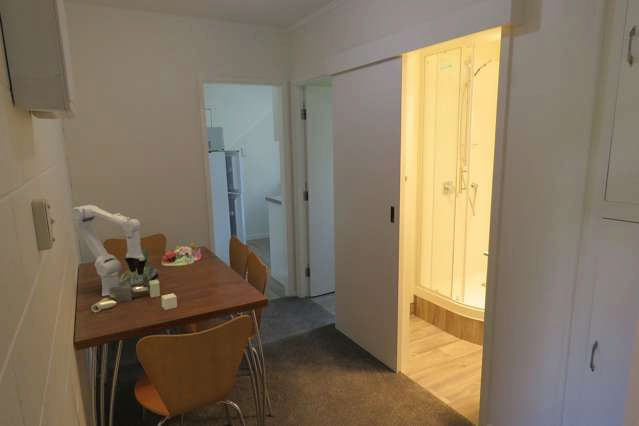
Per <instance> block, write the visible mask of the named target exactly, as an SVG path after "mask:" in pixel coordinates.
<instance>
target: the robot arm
mask: <svg viewBox="0 0 639 426" xmlns="http://www.w3.org/2000/svg"><path fill="white" fill-rule="evenodd" d="M70 218H71V219H72V221H73V222H74V225H75V229H76V230H77V232H78V233H79V235H80V236H81V238H82V240H83V241H84V242H85V244H86V246H87V248H88V249H89V250H90V252H91V253H92V255H93V256H94V258H95V259H96V260H95V263H94V267H95V270H96V273H97V274H98V275H99V277H100V279H101V288H102V289H101V296H102V297H106V296H110V290H109V288H113V287H119V277H120V276H119V273H120V270H121V268H122V263H121V262H120V260H118V259H117V258H116V257H115V255H113V254H110V253H108V250H106V248H105V247H104V245H103V244H102V242H101V240H100V239H99V237H98V235H96V233H95V231H94V230H93V228H92V227H91V226H92V225H91V224H92V223H93V221H94V220H95V218H98V219H102V220H105V221H107V222H109V224H110V225H111V226H113V227H115V228H118V229H121V230H122V232H124V236H125V238H126V246H127V247H126V248H127V252H125V257H124V261H125V262H126V264H127V266H128V269H130V271H131V272H135V271H136V269H137V273H138V275H142V274H143V272H144V267H145V264H146V262H147V260H146V259H144V256H143V254H142V253H141V250H142V247H141V246H142V245H141V244H142V243H141V236H140V235H141V234H140V230H141V228H142V222H141V221H140V220H139V219H137V218H130V217H129V216H124V215H122V213H114V214H113V213H110V212H108V211H106V210H104V209H101V208H100V207H98V206H97V205H94V204H86V205H81V206H75V207H72V210H71V213H70Z"/></svg>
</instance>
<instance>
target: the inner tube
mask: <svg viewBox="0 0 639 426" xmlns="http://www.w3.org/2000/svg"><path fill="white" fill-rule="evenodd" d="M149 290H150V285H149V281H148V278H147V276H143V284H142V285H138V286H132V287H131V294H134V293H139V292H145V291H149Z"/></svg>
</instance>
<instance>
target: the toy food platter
mask: <svg viewBox="0 0 639 426" xmlns="http://www.w3.org/2000/svg"><path fill="white" fill-rule="evenodd" d="M201 259H202V253H201V249H200V248H198V245H195V244H194V243H190V246H179V245H177V246H175V249H174V250H173V251H171V250H167V251H165V254H164V256H162V260H161V262H160V263H161V266H164V267H180V266H186V265H192V264H194V263H195V262H196V261H199V260H201Z"/></svg>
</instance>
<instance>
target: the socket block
mask: <svg viewBox="0 0 639 426" xmlns="http://www.w3.org/2000/svg"><path fill="white" fill-rule="evenodd" d="M148 285H150V290H148V291H149V296H150V298H156V297H157V298H158V297H160V296H161V290H160V289H161V288H160V281H159V279H153V280H152V279H151V280H150V281H148Z"/></svg>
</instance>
